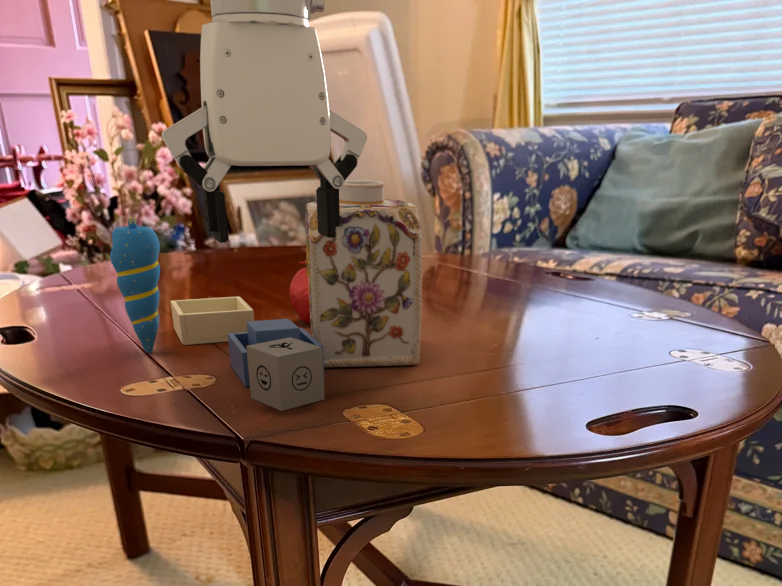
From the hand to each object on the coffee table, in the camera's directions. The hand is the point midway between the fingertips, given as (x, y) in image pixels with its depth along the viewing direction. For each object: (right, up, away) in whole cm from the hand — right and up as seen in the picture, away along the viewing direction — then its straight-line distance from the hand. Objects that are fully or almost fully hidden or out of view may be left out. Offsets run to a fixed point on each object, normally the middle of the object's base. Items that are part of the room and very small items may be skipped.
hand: (275, 238), depth 68 cm
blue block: (-2, -9, +12) cm, 15 cm away
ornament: (-17, -6, +19) cm, 26 cm away
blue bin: (-2, -9, +13) cm, 16 cm away
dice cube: (0, -14, +5) cm, 14 cm away
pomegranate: (+1, +2, +34) cm, 34 cm away
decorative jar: (+7, -6, +20) cm, 21 cm away
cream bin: (-12, -1, +27) cm, 30 cm away
